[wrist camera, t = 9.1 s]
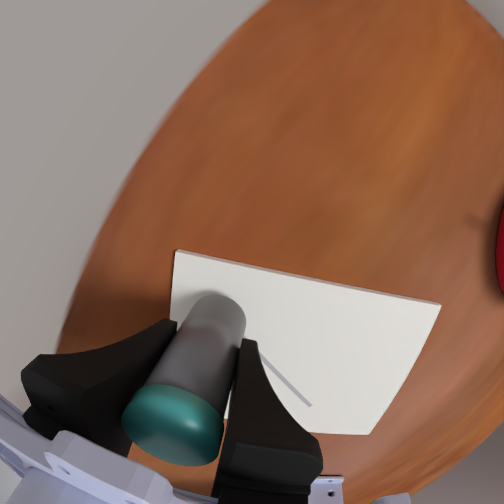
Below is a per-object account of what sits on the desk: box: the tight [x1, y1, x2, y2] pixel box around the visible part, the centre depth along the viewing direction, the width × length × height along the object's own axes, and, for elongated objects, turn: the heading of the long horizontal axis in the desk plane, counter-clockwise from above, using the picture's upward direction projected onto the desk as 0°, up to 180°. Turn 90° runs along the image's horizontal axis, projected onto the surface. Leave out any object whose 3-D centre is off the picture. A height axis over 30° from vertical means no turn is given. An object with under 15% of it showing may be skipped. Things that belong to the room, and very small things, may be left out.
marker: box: [121, 295, 246, 466], centre depth 11 cm, size 3×3×8 cm
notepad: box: [170, 249, 441, 435], centre depth 16 cm, size 16×12×1 cm
